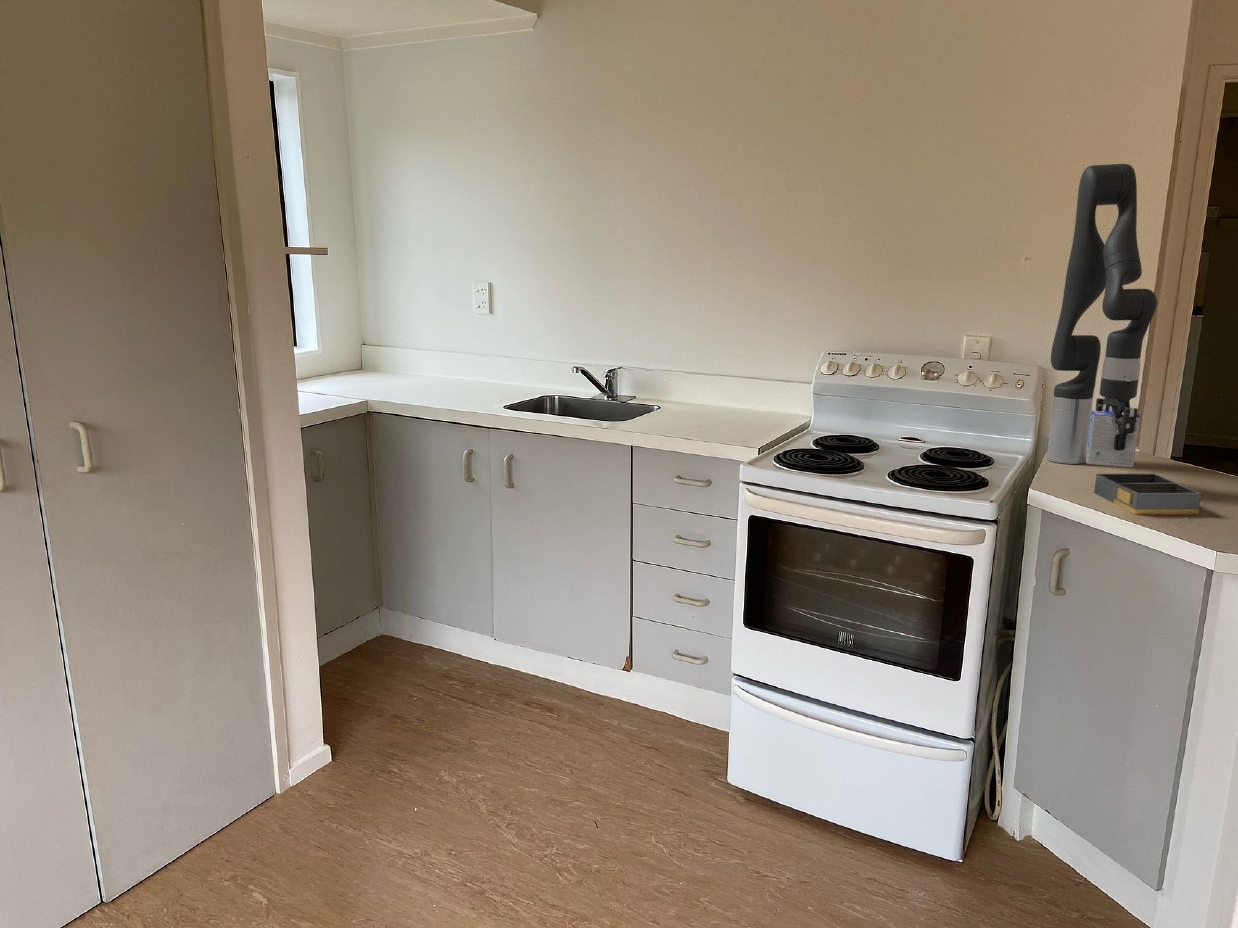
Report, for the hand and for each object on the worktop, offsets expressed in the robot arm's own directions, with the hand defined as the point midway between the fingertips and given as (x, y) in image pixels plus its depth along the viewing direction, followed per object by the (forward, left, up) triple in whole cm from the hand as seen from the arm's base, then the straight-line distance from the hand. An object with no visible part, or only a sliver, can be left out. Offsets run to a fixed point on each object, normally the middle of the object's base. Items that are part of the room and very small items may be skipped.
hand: (1111, 446), depth 200 cm
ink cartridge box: (0, 0, -4) cm, 4 cm away
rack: (+16, 0, -9) cm, 19 cm away
